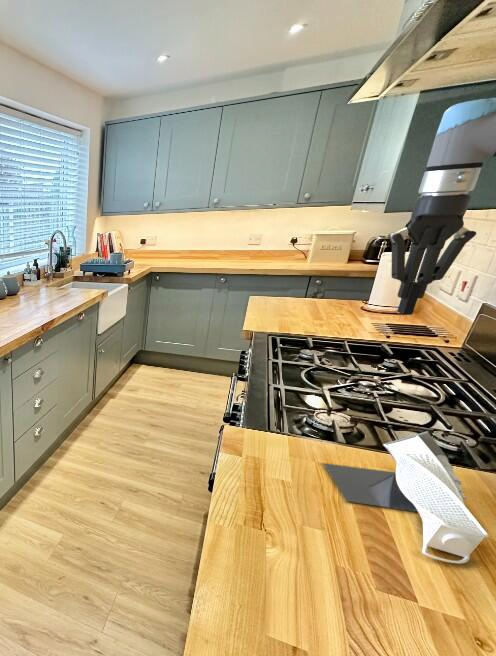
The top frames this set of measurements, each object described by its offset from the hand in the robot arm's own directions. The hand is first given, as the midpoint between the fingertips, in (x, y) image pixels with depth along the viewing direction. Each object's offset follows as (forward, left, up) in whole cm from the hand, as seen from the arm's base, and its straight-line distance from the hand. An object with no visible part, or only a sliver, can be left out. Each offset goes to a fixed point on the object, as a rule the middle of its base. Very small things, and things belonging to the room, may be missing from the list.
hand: (404, 313), depth 90 cm
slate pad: (+8, +27, -28) cm, 40 cm away
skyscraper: (+1, +19, -24) cm, 30 cm away
